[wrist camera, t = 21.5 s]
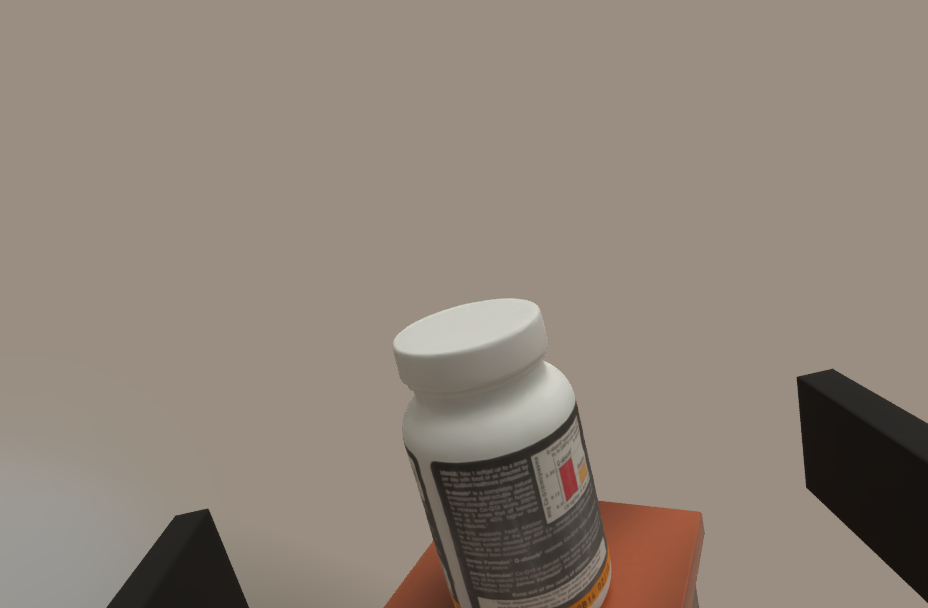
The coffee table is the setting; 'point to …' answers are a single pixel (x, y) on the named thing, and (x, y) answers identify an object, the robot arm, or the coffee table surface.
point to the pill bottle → (501, 460)
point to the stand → (631, 554)
